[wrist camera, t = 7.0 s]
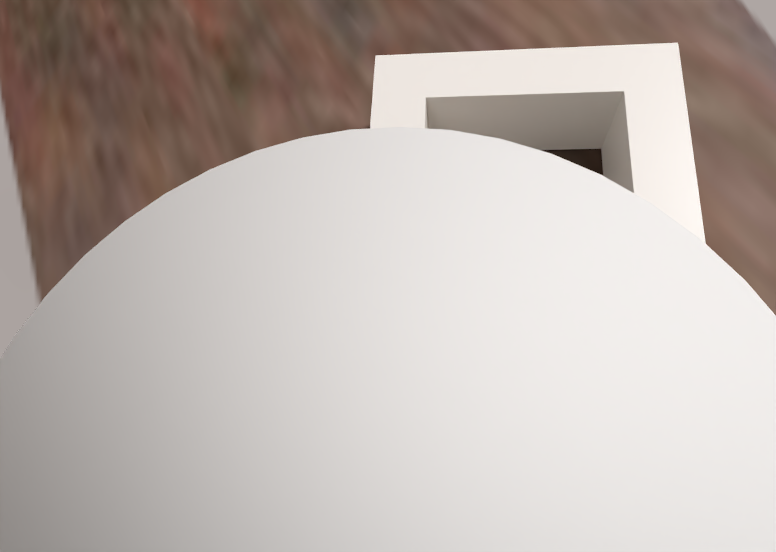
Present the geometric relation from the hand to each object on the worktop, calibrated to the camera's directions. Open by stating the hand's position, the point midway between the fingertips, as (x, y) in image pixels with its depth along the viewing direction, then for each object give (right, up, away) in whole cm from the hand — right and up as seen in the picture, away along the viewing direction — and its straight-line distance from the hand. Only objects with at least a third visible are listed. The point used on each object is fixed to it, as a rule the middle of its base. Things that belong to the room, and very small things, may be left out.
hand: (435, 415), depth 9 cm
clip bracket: (+3, +4, +10) cm, 11 cm away
